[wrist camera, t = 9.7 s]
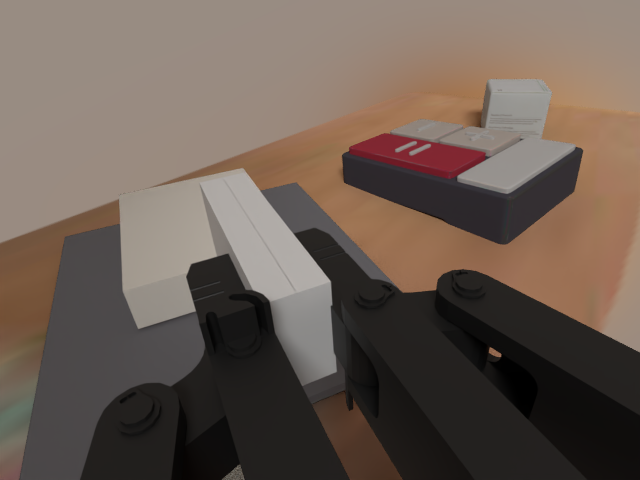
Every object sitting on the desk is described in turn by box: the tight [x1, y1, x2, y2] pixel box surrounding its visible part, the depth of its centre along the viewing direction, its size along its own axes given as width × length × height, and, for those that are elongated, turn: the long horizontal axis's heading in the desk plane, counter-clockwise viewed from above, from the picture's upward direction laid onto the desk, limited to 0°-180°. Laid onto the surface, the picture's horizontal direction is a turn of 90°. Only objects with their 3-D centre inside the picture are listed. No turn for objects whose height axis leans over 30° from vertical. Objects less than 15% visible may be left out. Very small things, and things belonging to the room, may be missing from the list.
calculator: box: [342, 119, 583, 244], centre depth 34 cm, size 11×4×15 cm
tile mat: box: [19, 183, 399, 480], centre depth 25 cm, size 18×20×1 cm
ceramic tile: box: [119, 168, 263, 329], centre depth 27 cm, size 9×3×12 cm
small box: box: [481, 79, 552, 139], centre depth 44 cm, size 6×6×5 cm
